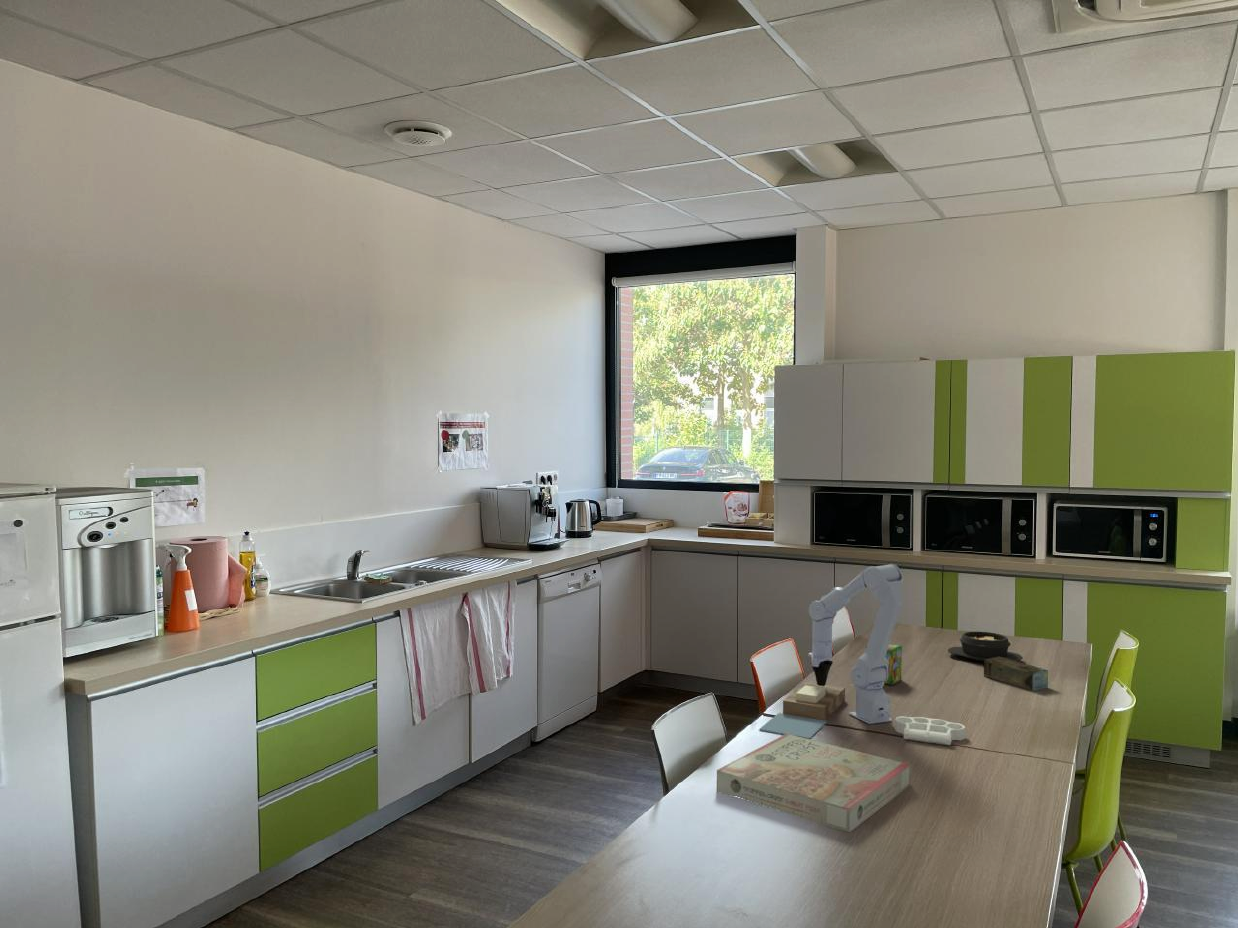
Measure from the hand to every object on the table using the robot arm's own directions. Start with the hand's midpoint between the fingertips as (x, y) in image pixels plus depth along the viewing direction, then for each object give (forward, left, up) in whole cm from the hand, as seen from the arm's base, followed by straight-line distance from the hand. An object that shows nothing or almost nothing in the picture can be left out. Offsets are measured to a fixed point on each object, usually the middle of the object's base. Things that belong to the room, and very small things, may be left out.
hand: (821, 685), depth 271 cm
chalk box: (+13, -32, -5) cm, 35 cm away
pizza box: (-55, +39, -6) cm, 68 cm away
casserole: (+24, -84, -5) cm, 88 cm away
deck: (-4, +5, -5) cm, 8 cm away
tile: (-7, +8, -1) cm, 11 cm away
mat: (-17, +20, -5) cm, 26 cm away
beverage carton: (-3, -72, -6) cm, 72 cm away
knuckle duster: (-35, -11, -6) cm, 37 cm away
